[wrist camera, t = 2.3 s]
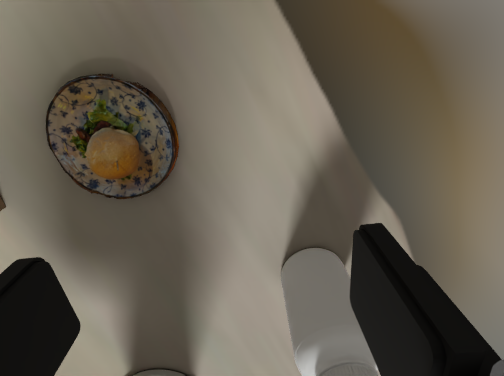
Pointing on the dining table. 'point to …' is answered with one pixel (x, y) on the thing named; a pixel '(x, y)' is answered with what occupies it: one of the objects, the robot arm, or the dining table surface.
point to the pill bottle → (323, 317)
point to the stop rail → (2, 204)
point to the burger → (111, 136)
